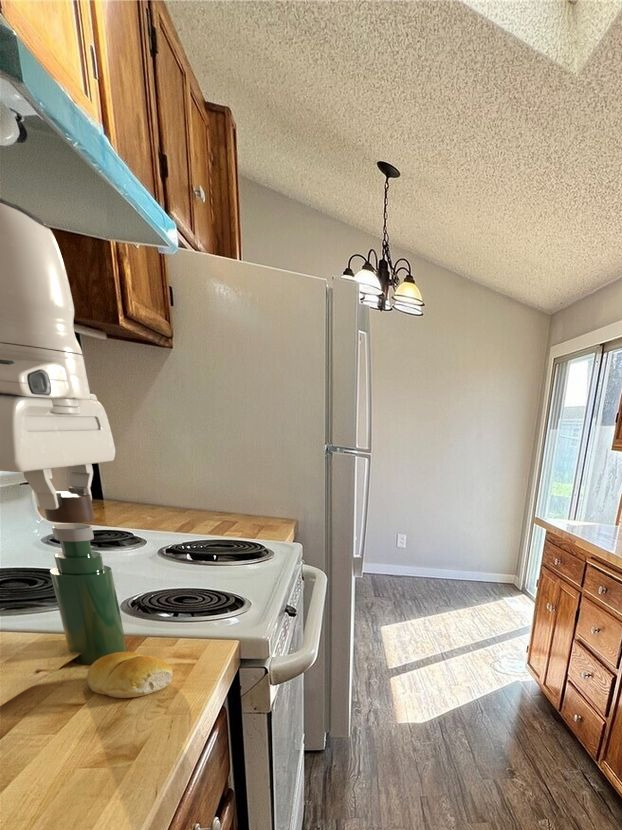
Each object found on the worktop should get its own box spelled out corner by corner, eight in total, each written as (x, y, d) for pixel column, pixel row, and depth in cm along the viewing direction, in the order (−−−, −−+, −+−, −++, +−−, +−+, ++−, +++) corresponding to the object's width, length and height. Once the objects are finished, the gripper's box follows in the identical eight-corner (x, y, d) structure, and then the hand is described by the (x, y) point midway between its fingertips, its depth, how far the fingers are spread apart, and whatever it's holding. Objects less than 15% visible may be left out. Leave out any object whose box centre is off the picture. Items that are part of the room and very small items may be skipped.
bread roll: (131, 666, 74) (126, 638, 73) (185, 681, 72) (181, 652, 71) (70, 689, 67) (62, 659, 65) (128, 706, 65) (122, 675, 63)
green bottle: (59, 663, 73) (26, 528, 66) (87, 645, 79) (59, 519, 72) (112, 665, 74) (85, 533, 67) (136, 648, 80) (113, 524, 73)
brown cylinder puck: (37, 520, 66) (31, 494, 65) (61, 514, 71) (56, 490, 69) (81, 524, 67) (76, 498, 66) (103, 518, 71) (98, 493, 70)
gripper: (64, 380, 71) (87, 492, 77) (-66, 366, 53) (-23, 515, 59) (118, 387, 72) (136, 497, 78) (9, 375, 54) (43, 520, 60)
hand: (67, 505), depth 68 cm, fingers closed on brown cylinder puck, 5 cm apart
